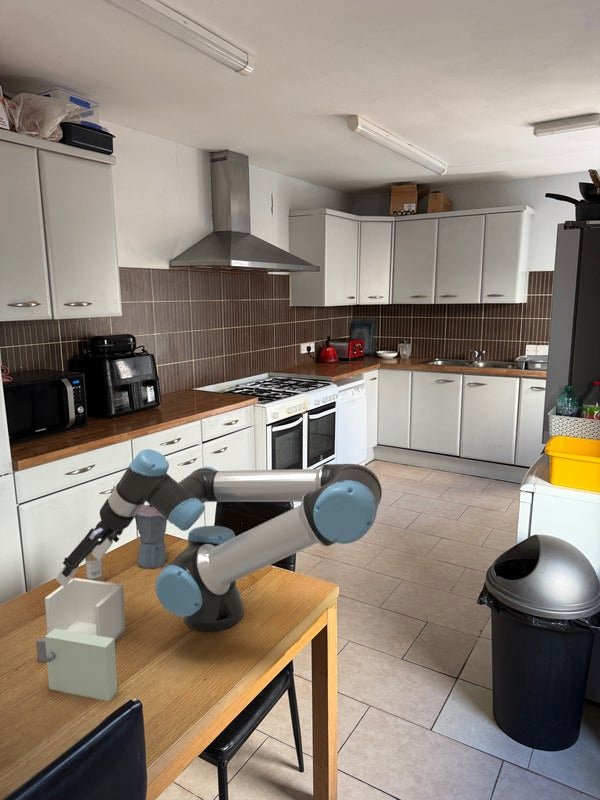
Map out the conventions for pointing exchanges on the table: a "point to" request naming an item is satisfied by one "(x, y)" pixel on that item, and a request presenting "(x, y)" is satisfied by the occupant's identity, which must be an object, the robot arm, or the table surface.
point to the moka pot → (151, 537)
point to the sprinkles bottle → (94, 568)
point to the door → (81, 664)
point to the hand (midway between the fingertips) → (79, 569)
